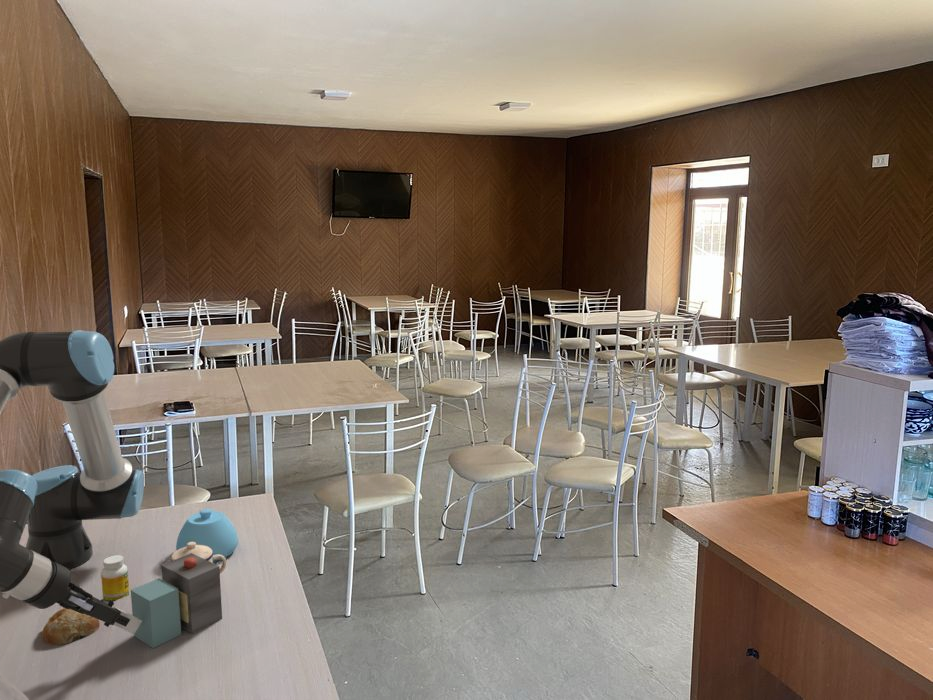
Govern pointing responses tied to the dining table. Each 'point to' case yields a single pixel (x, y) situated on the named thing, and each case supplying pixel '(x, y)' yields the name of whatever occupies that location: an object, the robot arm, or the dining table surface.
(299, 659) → the dining table surface
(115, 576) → the supplement bottle
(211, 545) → the sugar bowl
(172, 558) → the teacup with lid
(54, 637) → the bread roll
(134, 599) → the teal rectangular block
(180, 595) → the switch base
